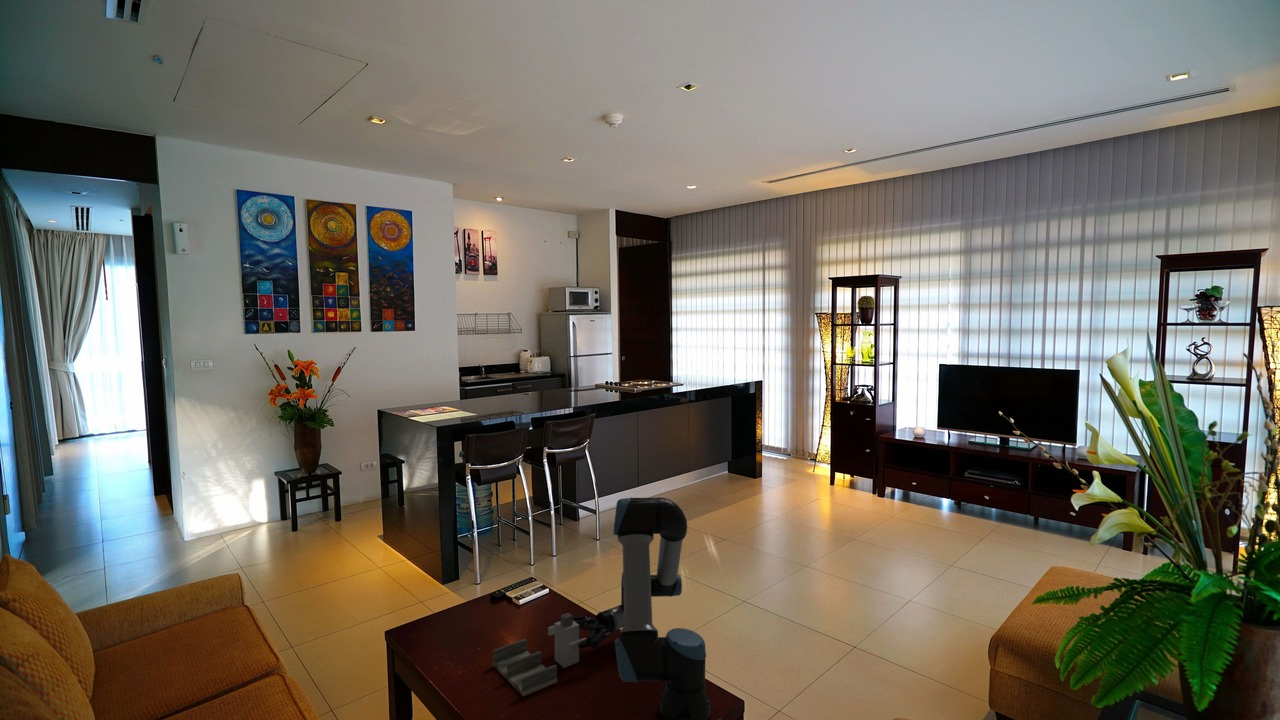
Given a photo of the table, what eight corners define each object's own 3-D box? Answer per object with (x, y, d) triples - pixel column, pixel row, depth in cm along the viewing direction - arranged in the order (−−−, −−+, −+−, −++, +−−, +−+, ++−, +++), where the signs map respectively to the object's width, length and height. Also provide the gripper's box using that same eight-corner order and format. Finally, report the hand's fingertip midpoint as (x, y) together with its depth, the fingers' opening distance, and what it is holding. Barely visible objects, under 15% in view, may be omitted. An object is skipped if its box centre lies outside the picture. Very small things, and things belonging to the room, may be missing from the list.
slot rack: (556, 682, 195) (556, 665, 194) (523, 696, 187) (523, 679, 187) (525, 653, 211) (525, 638, 211) (493, 665, 204) (493, 650, 203)
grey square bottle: (579, 661, 206) (579, 616, 205) (563, 668, 203) (563, 621, 202) (569, 654, 211) (569, 609, 210) (554, 660, 207) (554, 614, 206)
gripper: (631, 645, 208) (578, 667, 195) (590, 617, 228) (540, 635, 214) (631, 624, 208) (578, 644, 194) (590, 597, 227) (540, 614, 214)
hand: (558, 639), depth 204 cm, fingers open, 13 cm apart
